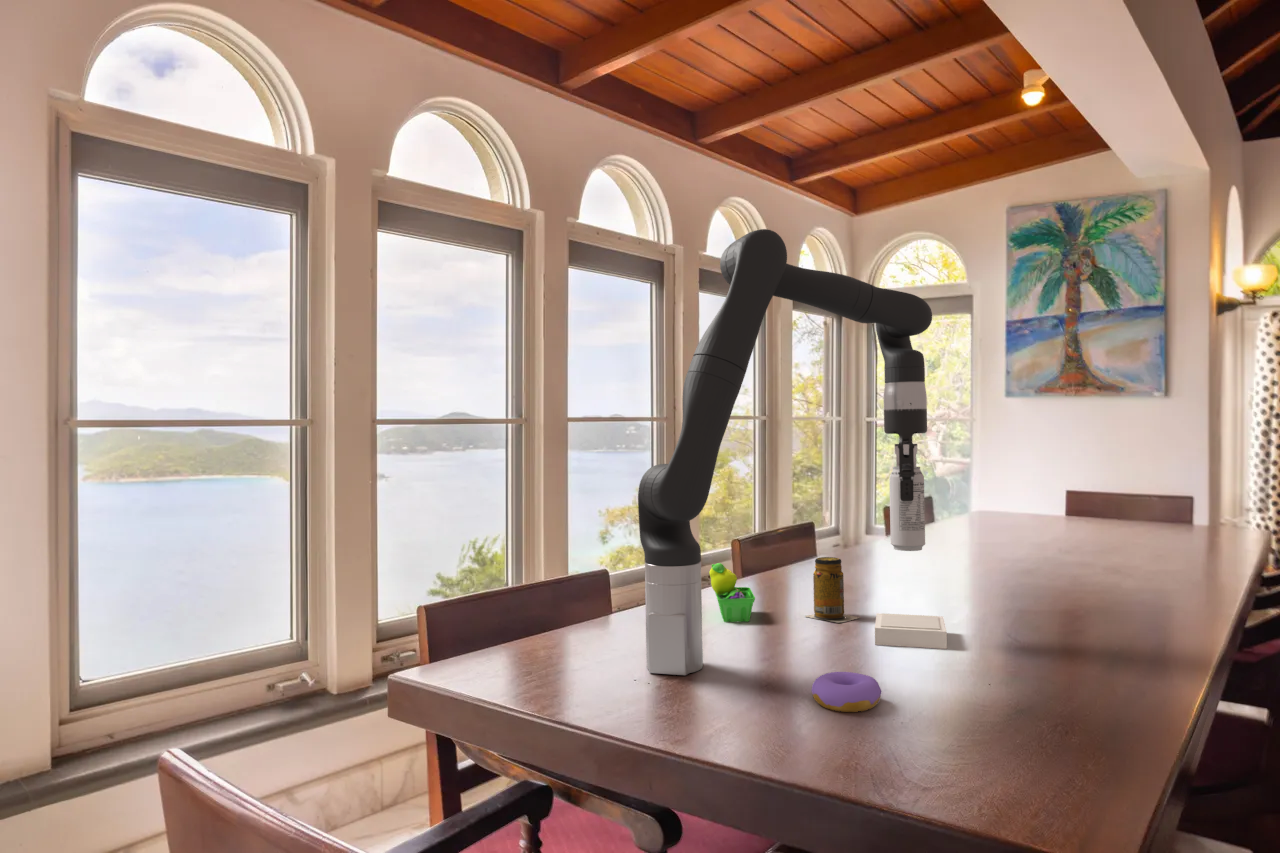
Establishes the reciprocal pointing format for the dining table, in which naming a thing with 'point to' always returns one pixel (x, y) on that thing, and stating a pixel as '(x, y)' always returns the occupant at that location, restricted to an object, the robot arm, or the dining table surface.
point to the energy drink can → (907, 514)
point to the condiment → (829, 591)
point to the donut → (846, 691)
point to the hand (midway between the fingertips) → (906, 499)
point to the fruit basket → (731, 595)
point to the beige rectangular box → (910, 631)
